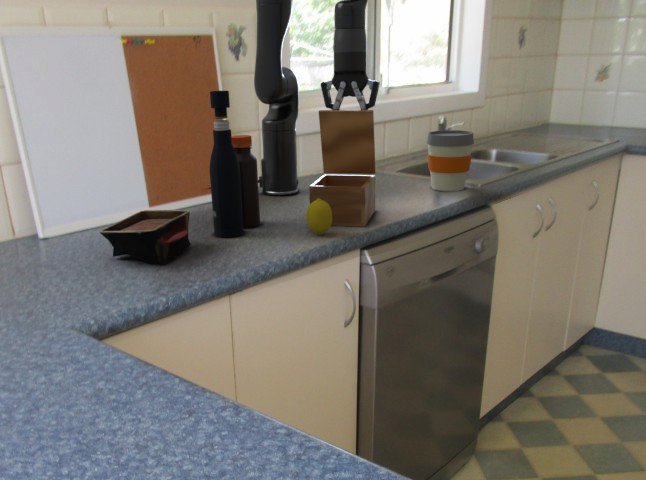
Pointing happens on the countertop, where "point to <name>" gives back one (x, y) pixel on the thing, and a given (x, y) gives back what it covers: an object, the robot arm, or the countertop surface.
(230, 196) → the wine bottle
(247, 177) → the vinegar
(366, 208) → the chest
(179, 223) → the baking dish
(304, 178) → the countertop surface
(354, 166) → the lid
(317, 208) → the lemon
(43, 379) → the countertop surface
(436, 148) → the reusable coffee cup
